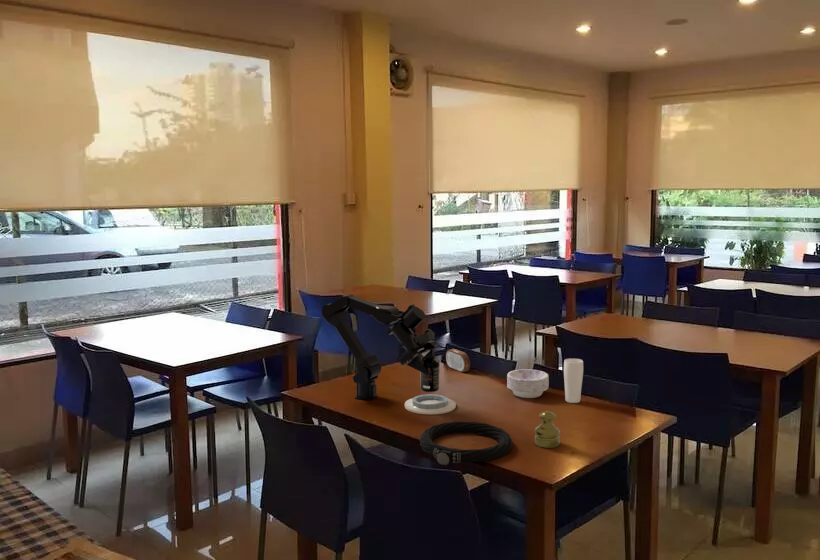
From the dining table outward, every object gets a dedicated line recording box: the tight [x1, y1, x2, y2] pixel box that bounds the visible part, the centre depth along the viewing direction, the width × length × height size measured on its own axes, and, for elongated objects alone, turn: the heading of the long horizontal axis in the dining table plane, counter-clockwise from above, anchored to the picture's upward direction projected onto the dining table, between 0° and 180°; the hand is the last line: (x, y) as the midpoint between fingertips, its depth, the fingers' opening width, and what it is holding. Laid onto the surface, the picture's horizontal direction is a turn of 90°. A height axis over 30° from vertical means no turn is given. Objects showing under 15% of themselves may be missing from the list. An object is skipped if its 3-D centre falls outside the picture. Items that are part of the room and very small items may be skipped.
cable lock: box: [418, 421, 513, 466], centre depth 204 cm, size 28×4×30 cm
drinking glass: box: [563, 358, 584, 404], centre depth 246 cm, size 7×7×15 cm
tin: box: [445, 348, 471, 373], centre depth 292 cm, size 15×3×8 cm, turn 30°
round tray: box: [404, 393, 457, 416], centre depth 243 cm, size 18×18×2 cm
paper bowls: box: [506, 368, 550, 399], centre depth 255 cm, size 15×15×8 cm
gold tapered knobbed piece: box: [534, 410, 561, 449], centre depth 205 cm, size 7×7×10 cm
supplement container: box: [419, 358, 441, 393], centre depth 239 cm, size 7×7×10 cm
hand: (433, 371), depth 238 cm, fingers closed on supplement container, 7 cm apart
